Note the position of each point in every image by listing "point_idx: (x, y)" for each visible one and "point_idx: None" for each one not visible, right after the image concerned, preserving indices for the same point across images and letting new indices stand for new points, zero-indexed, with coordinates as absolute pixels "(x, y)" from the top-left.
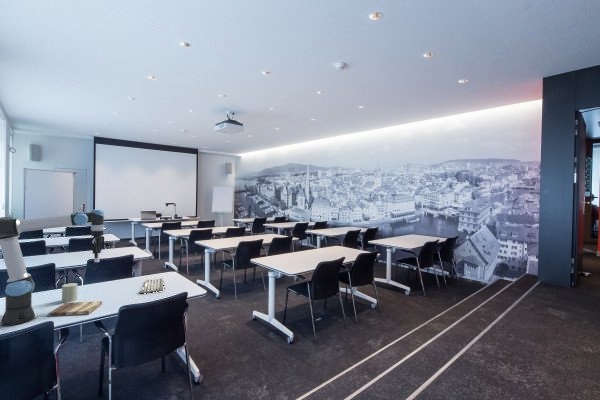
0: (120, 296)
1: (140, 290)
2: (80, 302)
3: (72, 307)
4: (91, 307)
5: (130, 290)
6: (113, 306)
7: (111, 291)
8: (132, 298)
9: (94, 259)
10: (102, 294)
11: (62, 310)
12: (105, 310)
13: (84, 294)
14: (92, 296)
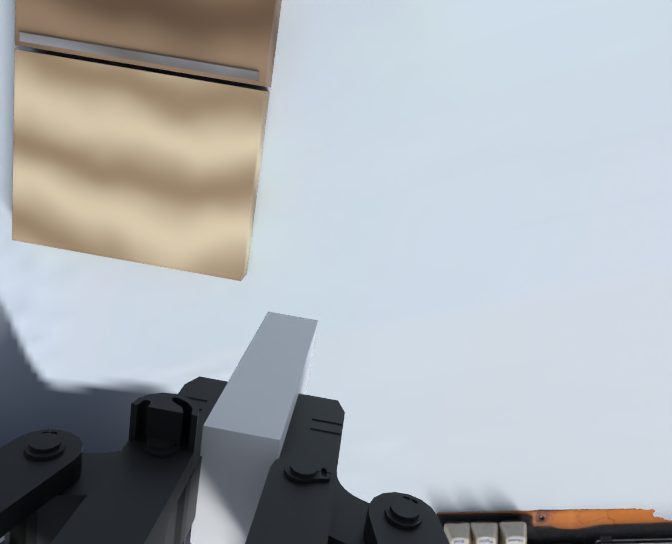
0: (432, 377)
1: (477, 537)
2: (254, 95)
3: (123, 69)
4: (88, 236)
5: (602, 433)
6: (172, 369)
7: (643, 268)
8: (341, 475)
9: (254, 341)
10: (563, 205)
11: (58, 6)
12: (92, 330)
13: (640, 13)
14: (527, 123)
